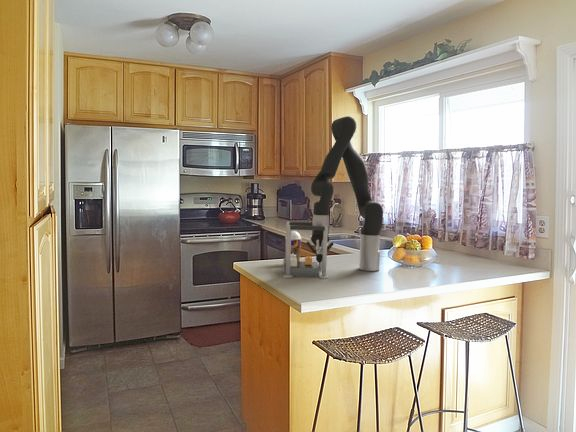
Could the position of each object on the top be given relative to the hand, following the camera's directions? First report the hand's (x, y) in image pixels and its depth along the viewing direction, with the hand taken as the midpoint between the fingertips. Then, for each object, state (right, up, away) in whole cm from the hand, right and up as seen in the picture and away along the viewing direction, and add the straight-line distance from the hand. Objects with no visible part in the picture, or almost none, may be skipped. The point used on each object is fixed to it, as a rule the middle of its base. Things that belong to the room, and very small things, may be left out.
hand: (319, 262), depth 206 cm
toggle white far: (-12, 0, +5) cm, 13 cm away
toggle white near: (-12, -1, -5) cm, 13 cm away
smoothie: (-12, -4, +18) cm, 22 cm away
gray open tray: (-9, -5, 0) cm, 10 cm away
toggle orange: (-5, -1, 0) cm, 5 cm away
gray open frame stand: (-7, -5, 0) cm, 8 cm away
